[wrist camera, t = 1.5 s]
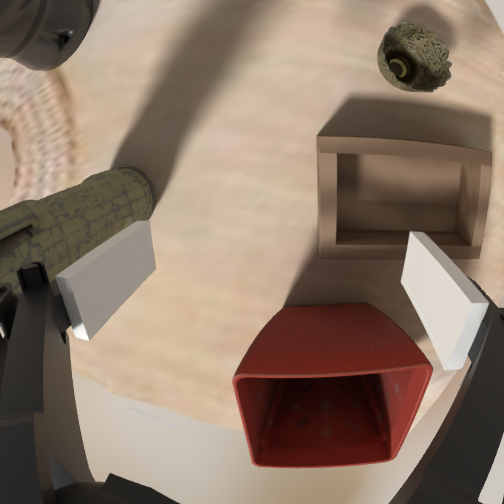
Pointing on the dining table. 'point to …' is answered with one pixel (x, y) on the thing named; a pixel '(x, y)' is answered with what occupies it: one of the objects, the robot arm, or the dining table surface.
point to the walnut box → (399, 197)
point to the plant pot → (329, 387)
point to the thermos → (72, 221)
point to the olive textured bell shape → (414, 58)
